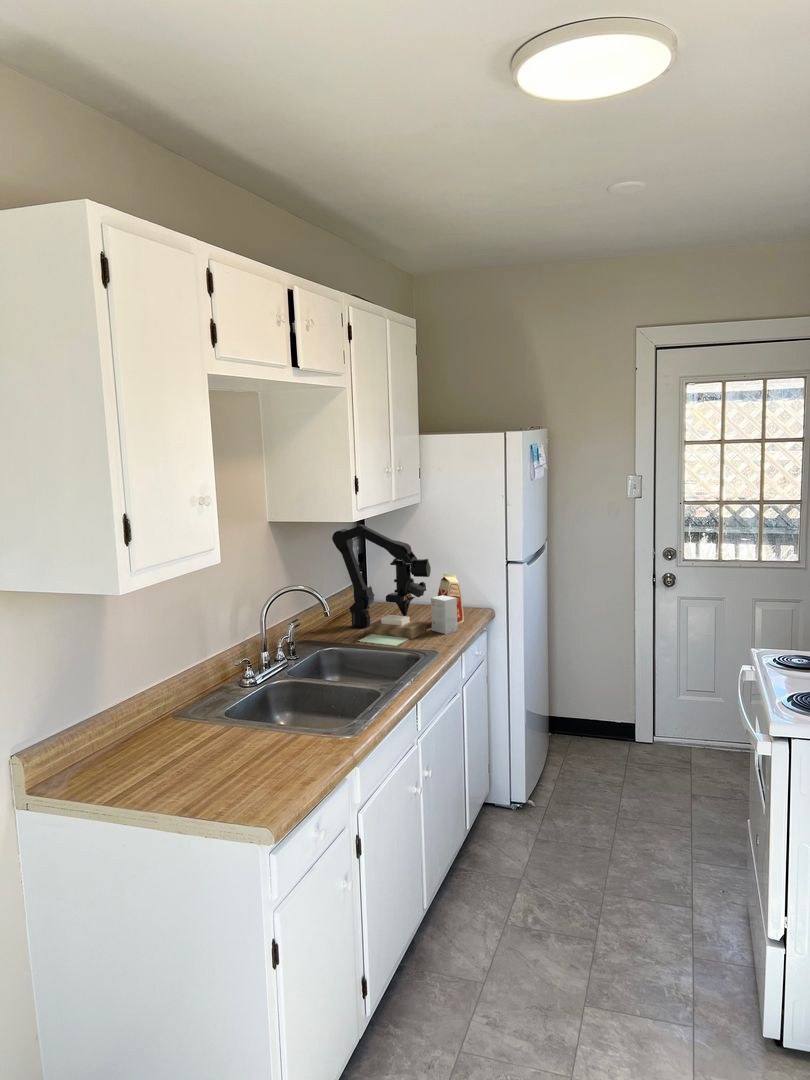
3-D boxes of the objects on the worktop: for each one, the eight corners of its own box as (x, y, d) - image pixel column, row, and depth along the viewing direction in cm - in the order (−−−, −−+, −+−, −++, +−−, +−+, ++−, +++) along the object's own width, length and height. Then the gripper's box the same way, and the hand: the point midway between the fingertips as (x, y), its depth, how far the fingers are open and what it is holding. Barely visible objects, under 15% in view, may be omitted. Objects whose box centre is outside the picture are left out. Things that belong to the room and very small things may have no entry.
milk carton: (449, 626, 314) (448, 576, 311) (433, 622, 321) (432, 573, 318) (466, 622, 319) (465, 572, 316) (450, 618, 326) (449, 569, 323)
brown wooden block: (370, 634, 305) (370, 624, 305) (383, 628, 314) (383, 618, 314) (412, 639, 297) (411, 628, 296) (424, 632, 305) (424, 622, 305)
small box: (457, 631, 306) (457, 597, 304) (445, 634, 302) (444, 600, 300) (443, 627, 312) (442, 594, 310) (431, 630, 308) (430, 597, 306)
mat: (357, 641, 296) (357, 640, 296) (372, 634, 305) (371, 634, 305) (395, 646, 288) (395, 645, 288) (409, 639, 297) (409, 638, 297)
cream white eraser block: (381, 623, 305) (381, 618, 305) (389, 619, 311) (389, 614, 310) (402, 625, 301) (401, 620, 301) (409, 621, 306) (409, 616, 306)
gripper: (410, 582, 298) (411, 623, 300) (433, 573, 314) (434, 612, 316) (384, 580, 303) (385, 620, 305) (407, 571, 319) (409, 609, 321)
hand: (404, 615), depth 312 cm, fingers closed
